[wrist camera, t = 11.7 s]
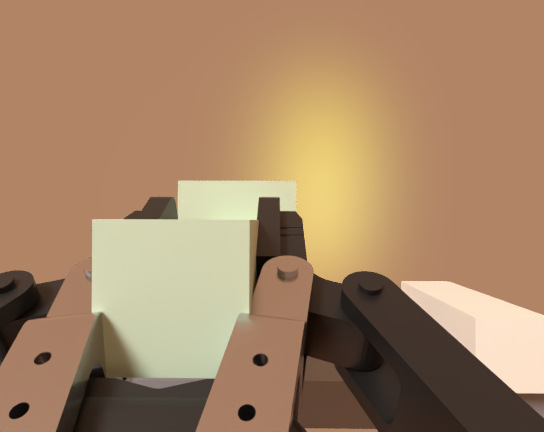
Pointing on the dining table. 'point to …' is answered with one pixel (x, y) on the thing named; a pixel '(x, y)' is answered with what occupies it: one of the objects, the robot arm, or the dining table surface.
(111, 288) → the pale yellow block
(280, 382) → the robot arm
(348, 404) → the grey arch
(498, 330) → the cream bar
